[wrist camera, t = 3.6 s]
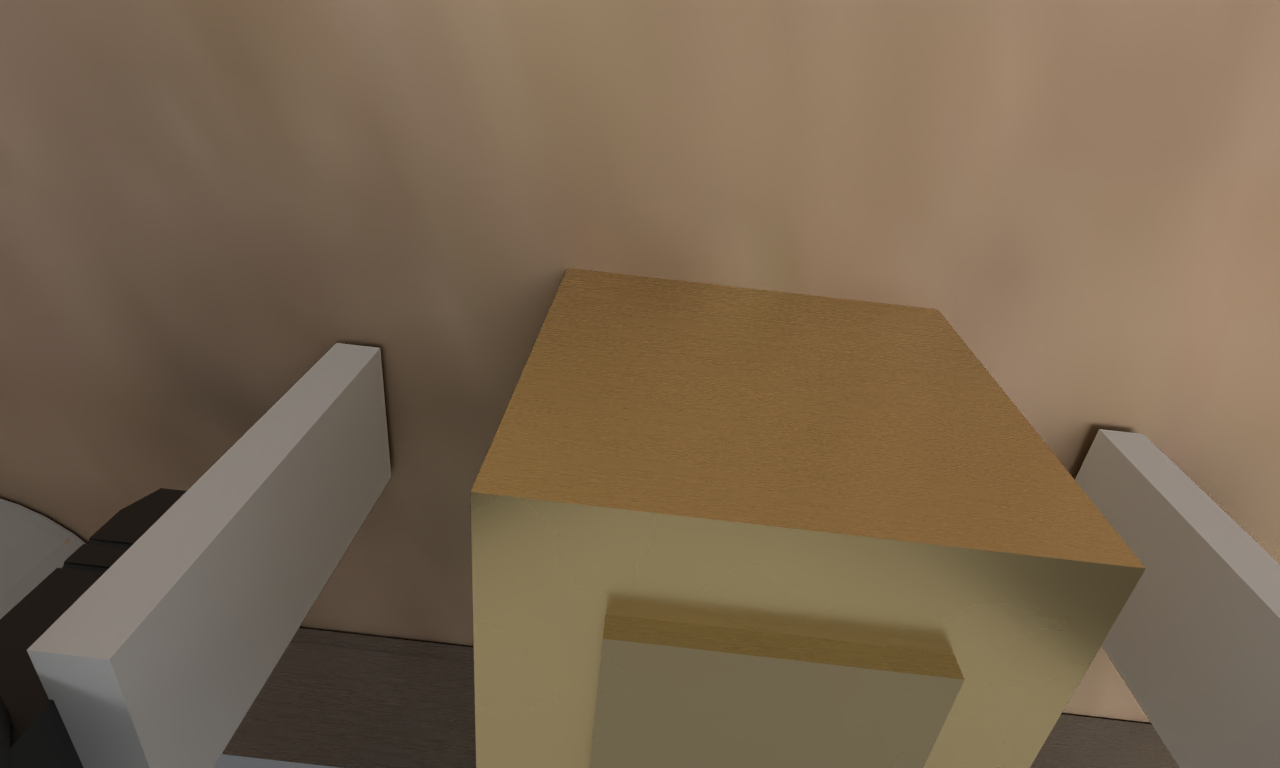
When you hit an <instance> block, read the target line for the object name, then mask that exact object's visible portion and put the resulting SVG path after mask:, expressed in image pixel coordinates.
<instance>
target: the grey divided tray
mask: <svg viewBox="0 0 1280 768" xmlns="http://www.w3.org/2000/svg"><path fill="white" fill-rule="evenodd" d="M213 768H476V734H475V686H474V648H473V647H464V646H455V645H446V644H438V643H429V642H420V641H411V640H402V639H393V638H385V637H376V636H367V635H358V634H349V633H340V632H332V631H323V630H314V629H305V628H298V630H297V632H296V633H295V635H294V637H293V638H292V640H291V641H290V643H289V645H288V646H287V648H286V650H285V651H284V653H283V655H282V656H281V658H280V659H279V661H278V663H277V664H276V666H275V668H274V669H273V671H272V672H271V674H270V676H269V677H268V679H267V681H266V682H265V684H264V686H263V687H262V689H261V690H260V692H259V694H258V695H257V697H256V699H255V700H254V702H253V703H252V705H251V707H250V708H249V710H248V712H247V713H246V715H245V717H244V718H243V720H242V721H241V723H240V725H239V726H238V728H237V730H236V731H235V733H234V734H233V736H232V738H231V739H230V741H229V743H228V744H227V746H226V748H225V749H224V751H223V752H222V754H221V756H220V757H219V759H218V761H217V762H216V764H215V765H214V767H213ZM1030 768H1180V767H1179V766H1178V764H1177V763H1176V761H1175V760H1174V758H1173V757H1172V755H1171V753H1170V752H1169V750H1168V749H1167V747H1166V746H1165V744H1164V742H1163V741H1162V739H1161V738H1160V736H1159V735H1158V733H1157V731H1156V730H1155V728H1154V727H1153V725H1152V724H1144V723H1135V722H1126V721H1118V720H1109V719H1100V718H1091V717H1082V716H1073V715H1065V714H1061V715H1060V717H1059V719H1058V720H1057V722H1056V724H1055V725H1054V727H1053V729H1052V731H1051V732H1050V734H1049V736H1048V737H1047V739H1046V741H1045V743H1044V744H1043V746H1042V748H1041V749H1040V751H1039V753H1038V755H1037V756H1036V758H1035V760H1034V761H1033V763H1032V765H1031V767H1030Z"/></svg>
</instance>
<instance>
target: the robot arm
mask: <svg viewBox="0 0 1280 768" xmlns="http://www.w3.org/2000/svg"><path fill="white" fill-rule="evenodd" d="M390 478H391V467H390V455H389V444H388V432H387V420H386V409H385V397H384V385H383V373H382V362H381V350H380V348H377V347H368V346H359V345H351V344H342V343H336V344H335V345H334V346H333V347H332V348H331V349H330V350H329V351H328V352H327V353H326V354H325V355H324V356H323V357H322V358H321V359H320V360H319V361H318V362H317V363H316V364H315V365H314V366H313V367H312V368H311V369H310V370H309V371H308V372H307V373H306V374H305V375H304V376H303V377H302V378H301V379H300V380H299V381H297V382H296V383H295V384H294V385H293V386H292V387H291V388H290V389H289V390H288V391H287V392H286V393H285V394H284V395H283V396H282V397H281V398H280V399H279V400H278V401H277V402H276V403H275V404H274V405H273V406H272V407H271V408H270V409H269V410H268V411H267V412H266V413H265V414H264V415H263V416H262V417H261V418H260V419H259V420H258V421H257V422H256V423H255V424H254V425H253V426H252V427H251V428H250V429H249V430H248V431H247V432H246V433H245V434H244V435H243V436H242V437H241V438H240V439H239V440H238V441H237V442H236V443H235V444H234V445H233V446H232V447H231V448H230V449H229V450H228V451H227V452H226V453H225V454H224V455H223V456H222V457H221V458H220V459H219V460H218V461H217V462H216V463H215V464H214V465H213V466H212V467H211V468H210V469H209V470H208V471H207V472H206V473H205V474H204V475H203V476H202V477H201V478H200V479H199V480H198V481H197V482H196V483H195V484H194V485H193V486H192V487H191V488H190V489H189V490H188V491H181V490H172V489H164V488H161V489H159V490H157V491H155V492H153V493H152V494H150V495H148V496H146V497H144V498H142V499H140V500H139V501H137V502H135V503H133V504H131V505H129V506H127V507H125V508H124V509H122V510H120V511H119V512H118V513H117V514H116V515H115V516H113V517H112V518H111V519H110V520H109V521H108V522H107V523H106V524H105V525H104V526H102V527H101V528H100V529H99V530H98V531H97V532H96V533H95V534H94V535H93V536H91V537H90V541H89V543H88V544H83V545H82V546H80V547H79V548H78V549H77V550H76V551H75V552H74V553H73V554H72V555H71V556H69V557H68V558H67V559H66V560H65V561H64V565H63V567H62V568H56V569H55V570H54V571H53V572H52V573H51V574H50V575H48V576H47V577H46V578H45V579H44V580H43V581H42V582H41V583H40V584H39V585H37V586H36V587H35V588H34V589H33V590H32V591H31V592H30V593H29V594H28V595H26V596H25V597H24V598H23V599H22V600H21V601H20V602H19V603H18V604H17V605H15V606H14V607H13V608H12V609H11V610H10V611H9V612H8V613H7V614H6V615H4V616H3V617H2V618H1V619H0V768H213V767H214V765H215V764H216V762H217V761H218V759H219V757H220V756H221V754H222V752H223V751H224V749H225V748H226V746H227V744H228V743H229V741H230V739H231V738H232V736H233V734H234V733H235V731H236V730H237V728H238V726H239V725H240V723H241V721H242V720H243V718H244V717H245V715H246V713H247V712H248V710H249V708H250V707H251V705H252V703H253V702H254V700H255V699H256V697H257V695H258V694H259V692H260V690H261V689H262V687H263V686H264V684H265V682H266V681H267V679H268V677H269V676H270V674H271V672H272V671H273V669H274V668H275V666H276V664H277V663H278V661H279V659H280V658H281V656H282V655H283V653H284V651H285V650H286V648H287V646H288V645H289V643H290V641H291V640H292V638H293V637H294V635H295V633H296V632H297V630H298V628H299V627H300V625H301V624H302V622H303V620H304V619H305V617H306V615H307V614H308V612H309V610H310V609H311V607H312V606H313V604H314V602H315V601H316V599H317V597H318V596H319V594H320V593H321V591H322V589H323V588H324V586H325V584H326V583H327V581H328V579H329V578H330V576H331V575H332V573H333V571H334V570H335V568H336V566H337V565H338V563H339V562H340V560H341V558H342V557H343V555H344V553H345V552H346V550H347V548H348V547H349V545H350V544H351V542H352V540H353V539H354V537H355V535H356V534H357V532H358V531H359V529H360V527H361V526H362V524H363V522H364V521H365V519H366V517H367V516H368V514H369V513H370V511H371V509H372V508H373V506H374V504H375V503H376V501H377V500H378V498H379V496H380V495H381V493H382V491H383V490H384V488H385V486H386V485H387V483H388V482H389V480H390ZM1075 481H1076V482H1077V483H1078V485H1079V486H1080V487H1081V488H1082V490H1083V491H1084V492H1085V493H1086V495H1087V496H1088V497H1089V498H1090V499H1091V501H1092V502H1093V503H1094V504H1095V506H1096V507H1097V508H1098V509H1099V511H1100V512H1101V513H1102V514H1103V516H1104V517H1105V518H1106V519H1107V521H1108V522H1109V523H1110V524H1111V526H1112V527H1113V528H1114V529H1115V531H1116V532H1117V533H1118V534H1119V536H1120V537H1121V538H1122V539H1123V541H1124V542H1125V543H1126V544H1127V546H1128V547H1129V548H1130V549H1131V551H1132V552H1133V553H1134V554H1135V556H1136V557H1137V558H1138V559H1139V560H1140V562H1141V563H1142V564H1143V565H1144V567H1145V568H1146V569H1145V571H1144V573H1143V574H1142V576H1141V578H1140V580H1139V581H1138V583H1137V585H1136V586H1135V588H1134V590H1133V592H1132V593H1131V595H1130V597H1129V598H1128V600H1127V602H1126V604H1125V605H1124V607H1123V609H1122V610H1121V612H1120V614H1119V616H1118V617H1117V619H1116V621H1115V622H1114V624H1113V626H1112V628H1111V629H1110V631H1109V633H1108V634H1107V636H1106V638H1105V640H1104V641H1103V643H1102V647H1103V649H1104V650H1105V652H1106V653H1107V655H1108V656H1109V658H1110V659H1111V661H1112V663H1113V664H1114V666H1115V667H1116V669H1117V670H1118V672H1119V674H1120V675H1121V677H1122V678H1123V680H1124V681H1125V683H1126V685H1127V686H1128V688H1129V689H1130V691H1131V692H1132V694H1133V695H1134V697H1135V699H1136V700H1137V702H1138V703H1139V705H1140V706H1141V708H1142V710H1143V711H1144V713H1145V714H1146V716H1147V717H1148V719H1149V721H1150V722H1151V724H1152V725H1153V727H1154V728H1155V730H1156V731H1157V733H1158V735H1159V736H1160V738H1161V739H1162V741H1163V742H1164V744H1165V746H1166V747H1167V749H1168V750H1169V752H1170V753H1171V755H1172V757H1173V758H1174V760H1175V761H1176V763H1177V764H1178V766H1179V767H1180V768H1280V564H1279V563H1278V562H1277V561H1276V560H1274V559H1273V558H1272V557H1271V556H1270V555H1269V554H1268V553H1267V552H1266V551H1265V550H1264V549H1263V548H1262V547H1261V546H1260V545H1259V544H1258V543H1257V542H1256V541H1255V540H1254V539H1253V538H1252V537H1250V536H1249V535H1248V534H1247V533H1246V532H1245V531H1244V530H1243V529H1242V528H1241V527H1240V526H1239V525H1238V524H1237V523H1236V522H1235V521H1234V520H1233V519H1232V518H1231V517H1230V516H1229V515H1227V514H1226V513H1225V512H1224V511H1223V510H1222V509H1221V508H1220V507H1219V506H1218V505H1217V504H1216V503H1215V502H1214V501H1213V500H1212V499H1211V498H1210V497H1209V496H1208V495H1207V494H1206V493H1205V492H1203V491H1202V490H1201V489H1200V488H1199V487H1198V486H1197V485H1196V484H1195V483H1194V482H1193V481H1192V480H1191V479H1190V478H1189V477H1188V476H1187V475H1186V474H1185V473H1184V472H1183V471H1182V470H1181V469H1179V468H1178V467H1177V466H1176V465H1175V464H1174V463H1173V462H1172V461H1171V460H1170V459H1169V458H1168V457H1167V456H1166V455H1165V454H1164V453H1163V452H1162V451H1161V450H1160V449H1159V448H1158V447H1156V446H1155V445H1154V444H1153V443H1152V442H1151V441H1150V440H1149V439H1148V438H1147V437H1146V436H1145V435H1144V434H1139V433H1130V432H1121V431H1112V430H1104V429H1099V430H1098V433H1097V435H1096V437H1095V439H1094V441H1093V443H1092V445H1091V447H1090V449H1089V451H1088V453H1087V456H1086V458H1085V460H1084V462H1083V464H1082V466H1081V468H1080V470H1079V472H1078V474H1077V476H1076V479H1075Z"/></svg>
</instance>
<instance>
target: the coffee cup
mask: <svg viewBox="0 0 1280 768" xmlns="http://www.w3.org/2000/svg"><path fill="white" fill-rule="evenodd" d="M83 544H86V543H85V542H84V541H82V540H81V539H80V538H79V537H77V536H76V535H75V534H74V533H72V532H70V531H69V530H67V529H65V528H64V527H62V526H60V525H59V524H57V523H55V522H54V521H52V520H51V519H49V518H47V517H45V516H43V515H41V514H39V513H36V512H34V511H32V510H30V509H28V508H25V507H23V506H21V505H19V504H16V503H13V502H10V501H6V500H3V499H0V619H1V618H2V617H3V616H4V615H6V614H7V613H8V612H9V611H10V610H11V609H12V608H13V607H14V606H15V605H17V604H18V603H19V602H20V601H21V600H22V599H23V598H24V597H25V596H26V595H28V594H29V593H30V592H31V591H32V590H33V589H34V588H35V587H36V586H37V585H39V584H40V583H41V582H42V581H43V580H44V579H45V578H46V577H47V576H48V575H50V574H51V573H52V572H53V571H54V570H55V569H56V568H62V567H63V565H64V561H65V560H66V559H67V558H68V557H69V556H71V555H72V554H73V553H74V552H75V551H76V550H77V549H78V548H79V547H80V546H82V545H83Z"/></svg>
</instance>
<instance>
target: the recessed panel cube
mask: <svg viewBox="0 0 1280 768" xmlns="http://www.w3.org/2000/svg"><path fill="white" fill-rule="evenodd" d="M471 539H472V588H473V637H474V686H475V734H476V768H1030V767H1031V765H1032V763H1033V761H1034V760H1035V758H1036V756H1037V755H1038V753H1039V751H1040V749H1041V748H1042V746H1043V744H1044V743H1045V741H1046V739H1047V737H1048V736H1049V734H1050V732H1051V731H1052V729H1053V727H1054V725H1055V724H1056V722H1057V720H1058V719H1059V717H1060V715H1061V713H1062V712H1063V710H1064V708H1065V707H1066V705H1067V703H1068V701H1069V700H1070V698H1071V696H1072V695H1073V693H1074V691H1075V689H1076V688H1077V686H1078V684H1079V682H1080V681H1081V679H1082V677H1083V676H1084V674H1085V672H1086V670H1087V669H1088V667H1089V665H1090V664H1091V662H1092V660H1093V658H1094V657H1095V655H1096V653H1097V652H1098V650H1099V648H1100V646H1101V645H1102V643H1103V641H1104V640H1105V638H1106V636H1107V634H1108V633H1109V631H1110V629H1111V628H1112V626H1113V624H1114V622H1115V621H1116V619H1117V617H1118V616H1119V614H1120V612H1121V610H1122V609H1123V607H1124V605H1125V604H1126V602H1127V600H1128V598H1129V597H1130V595H1131V593H1132V592H1133V590H1134V588H1135V586H1136V585H1137V583H1138V581H1139V580H1140V578H1141V576H1142V574H1143V573H1144V571H1145V569H1146V568H1145V567H1144V565H1143V564H1142V563H1141V562H1140V560H1139V559H1138V558H1137V557H1136V556H1135V554H1134V553H1133V552H1132V551H1131V549H1130V548H1129V547H1128V546H1127V544H1126V543H1125V542H1124V541H1123V539H1122V538H1121V537H1120V536H1119V534H1118V533H1117V532H1116V531H1115V529H1114V528H1113V527H1112V526H1111V524H1110V523H1109V522H1108V521H1107V519H1106V518H1105V517H1104V516H1103V514H1102V513H1101V512H1100V511H1099V509H1098V508H1097V507H1096V506H1095V504H1094V503H1093V502H1092V501H1091V499H1090V498H1089V497H1088V496H1087V495H1086V493H1085V492H1084V491H1083V490H1082V488H1081V487H1080V486H1079V485H1078V483H1077V482H1076V481H1075V480H1074V478H1073V477H1072V476H1071V475H1070V473H1069V472H1068V471H1067V470H1066V468H1065V467H1064V466H1063V465H1062V463H1061V462H1060V461H1059V460H1058V458H1057V457H1056V456H1055V455H1054V453H1053V452H1052V451H1051V450H1050V448H1049V447H1048V446H1047V445H1046V443H1045V442H1044V441H1043V440H1042V438H1041V437H1040V436H1039V435H1038V433H1037V432H1036V431H1035V430H1034V429H1033V427H1032V426H1031V425H1030V424H1029V422H1028V421H1027V420H1026V419H1025V417H1024V416H1023V415H1022V414H1021V412H1020V411H1019V410H1018V409H1017V407H1016V406H1015V405H1014V404H1013V402H1012V401H1011V400H1010V399H1009V397H1008V396H1007V395H1006V394H1005V392H1004V391H1003V390H1002V389H1001V387H1000V386H999V385H998V384H997V382H996V381H995V380H994V379H993V377H992V376H991V375H990V374H989V372H988V371H987V370H986V369H985V368H984V366H983V365H982V364H981V363H980V361H979V360H978V359H977V358H976V356H975V355H974V354H973V353H972V351H971V350H970V349H969V348H968V346H967V345H966V344H965V343H964V341H963V340H962V339H961V338H960V336H959V335H958V334H957V333H956V331H955V330H954V329H953V328H952V326H951V325H950V324H949V323H948V321H947V320H946V319H945V318H944V316H943V315H942V314H941V313H940V311H939V310H936V309H927V308H918V307H909V306H900V305H891V304H882V303H873V302H864V301H856V300H847V299H838V298H829V297H820V296H811V295H802V294H793V293H784V292H775V291H766V290H757V289H749V288H740V287H731V286H722V285H713V284H704V283H695V282H686V281H677V280H668V279H659V278H651V277H642V276H633V275H624V274H615V273H606V272H597V271H588V270H579V269H570V268H567V270H566V273H565V275H564V277H563V280H562V282H561V284H560V286H559V289H558V291H557V293H556V296H555V298H554V300H553V303H552V305H551V307H550V310H549V312H548V314H547V316H546V319H545V321H544V323H543V326H542V328H541V330H540V333H539V335H538V337H537V340H536V342H535V344H534V347H533V349H532V351H531V353H530V356H529V358H528V360H527V363H526V365H525V367H524V370H523V372H522V374H521V377H520V379H519V381H518V384H517V386H516V388H515V390H514V393H513V395H512V397H511V400H510V402H509V404H508V407H507V409H506V411H505V414H504V416H503V418H502V421H501V423H500V425H499V427H498V430H497V432H496V434H495V437H494V439H493V441H492V444H491V446H490V448H489V451H488V453H487V455H486V458H485V460H484V462H483V464H482V467H481V469H480V471H479V474H478V476H477V478H476V481H475V483H474V485H473V488H472V490H471Z"/></svg>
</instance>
